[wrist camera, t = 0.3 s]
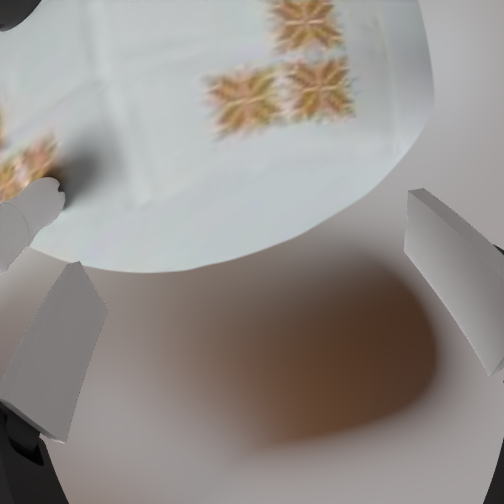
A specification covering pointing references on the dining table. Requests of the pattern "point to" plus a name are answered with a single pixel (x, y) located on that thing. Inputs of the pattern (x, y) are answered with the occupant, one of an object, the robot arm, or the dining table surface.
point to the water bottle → (27, 217)
